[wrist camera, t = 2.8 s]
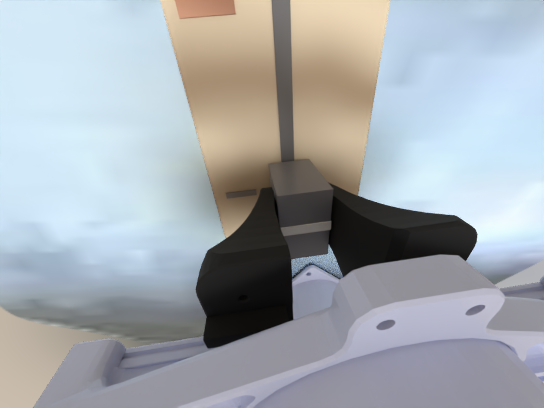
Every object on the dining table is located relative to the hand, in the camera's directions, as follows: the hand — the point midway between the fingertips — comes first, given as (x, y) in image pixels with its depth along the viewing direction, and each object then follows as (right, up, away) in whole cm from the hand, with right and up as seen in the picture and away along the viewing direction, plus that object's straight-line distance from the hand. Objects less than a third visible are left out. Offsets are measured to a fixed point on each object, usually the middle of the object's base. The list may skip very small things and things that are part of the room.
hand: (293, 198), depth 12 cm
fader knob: (0, +1, +1) cm, 1 cm away
